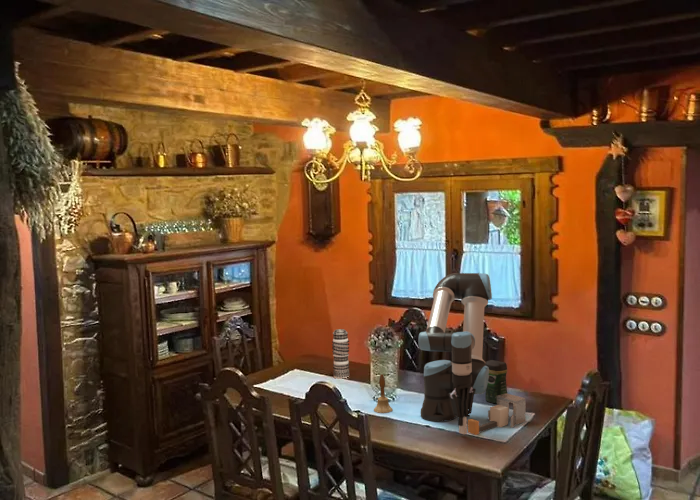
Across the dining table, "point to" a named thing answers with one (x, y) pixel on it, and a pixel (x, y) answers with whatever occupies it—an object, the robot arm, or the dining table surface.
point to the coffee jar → (496, 380)
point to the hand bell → (382, 399)
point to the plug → (496, 419)
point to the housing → (518, 407)
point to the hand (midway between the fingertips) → (462, 433)
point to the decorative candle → (340, 354)
